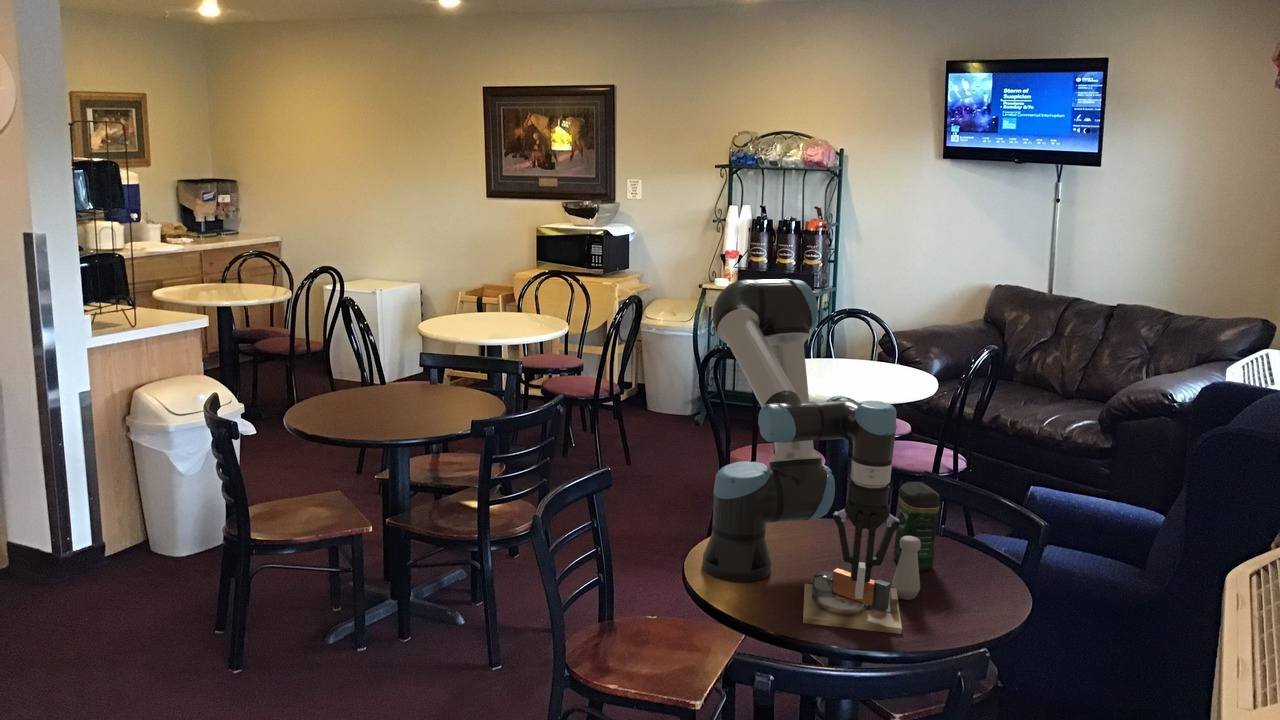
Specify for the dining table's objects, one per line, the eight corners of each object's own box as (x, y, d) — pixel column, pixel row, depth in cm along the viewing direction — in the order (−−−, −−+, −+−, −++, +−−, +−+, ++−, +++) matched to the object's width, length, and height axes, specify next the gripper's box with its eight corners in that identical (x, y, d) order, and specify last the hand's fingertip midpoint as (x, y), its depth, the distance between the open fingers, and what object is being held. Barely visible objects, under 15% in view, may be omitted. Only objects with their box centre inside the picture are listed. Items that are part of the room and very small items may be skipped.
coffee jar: (937, 571, 233) (946, 493, 229) (903, 572, 232) (911, 493, 228) (921, 554, 242) (929, 478, 238) (888, 555, 241) (895, 478, 237)
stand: (802, 622, 206) (804, 603, 205) (804, 588, 222) (805, 570, 221) (901, 633, 203) (903, 614, 202) (896, 598, 219) (897, 580, 218)
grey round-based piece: (873, 628, 202) (876, 592, 200) (800, 602, 212) (803, 568, 210) (896, 611, 209) (899, 577, 208) (825, 586, 219) (828, 553, 218)
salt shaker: (898, 587, 224) (904, 530, 221) (923, 595, 221) (929, 537, 218) (886, 595, 220) (891, 538, 217) (911, 604, 216) (917, 545, 213)
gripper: (835, 484, 198) (825, 600, 203) (905, 491, 196) (893, 608, 201) (835, 472, 205) (825, 584, 210) (903, 479, 203) (891, 591, 208)
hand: (858, 595), depth 206 cm, fingers closed
